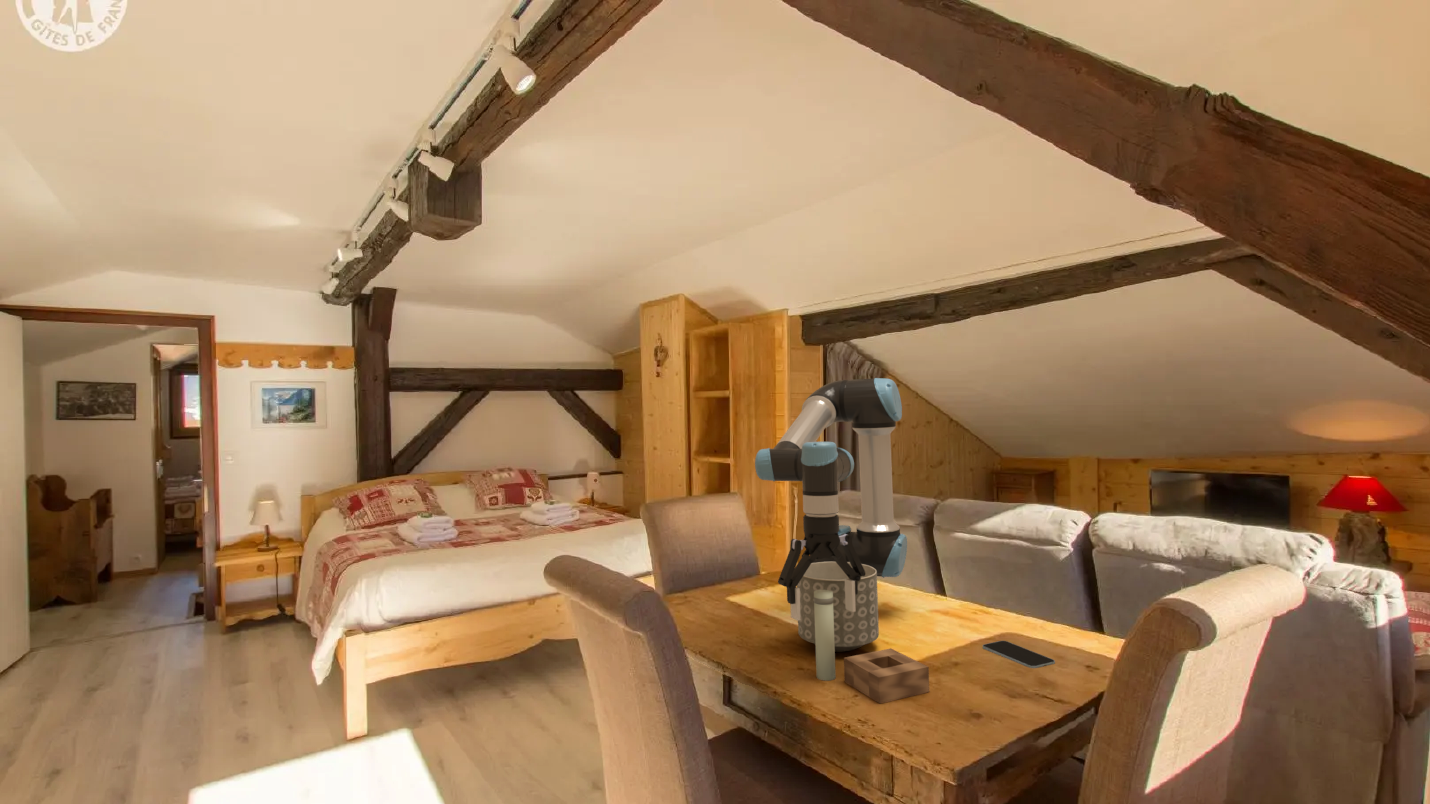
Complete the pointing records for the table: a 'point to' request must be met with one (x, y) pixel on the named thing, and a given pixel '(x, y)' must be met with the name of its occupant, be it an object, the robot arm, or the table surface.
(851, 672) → the square wooden socket block
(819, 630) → the banded green cylinder
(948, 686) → the table surface
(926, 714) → the table surface
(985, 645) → the smartphone
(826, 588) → the planter
